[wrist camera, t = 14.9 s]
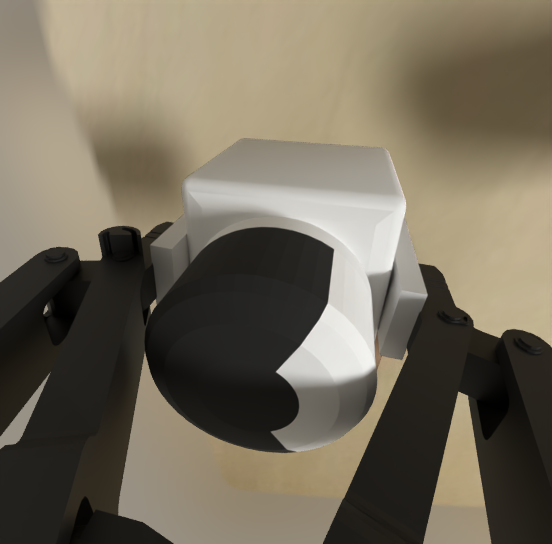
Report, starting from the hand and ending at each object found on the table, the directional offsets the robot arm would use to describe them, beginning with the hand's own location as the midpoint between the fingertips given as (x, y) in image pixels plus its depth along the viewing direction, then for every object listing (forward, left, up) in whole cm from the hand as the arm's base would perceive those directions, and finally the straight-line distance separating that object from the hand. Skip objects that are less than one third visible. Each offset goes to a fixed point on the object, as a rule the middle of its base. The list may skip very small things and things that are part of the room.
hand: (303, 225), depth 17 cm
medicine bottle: (0, 0, -2) cm, 2 cm away
